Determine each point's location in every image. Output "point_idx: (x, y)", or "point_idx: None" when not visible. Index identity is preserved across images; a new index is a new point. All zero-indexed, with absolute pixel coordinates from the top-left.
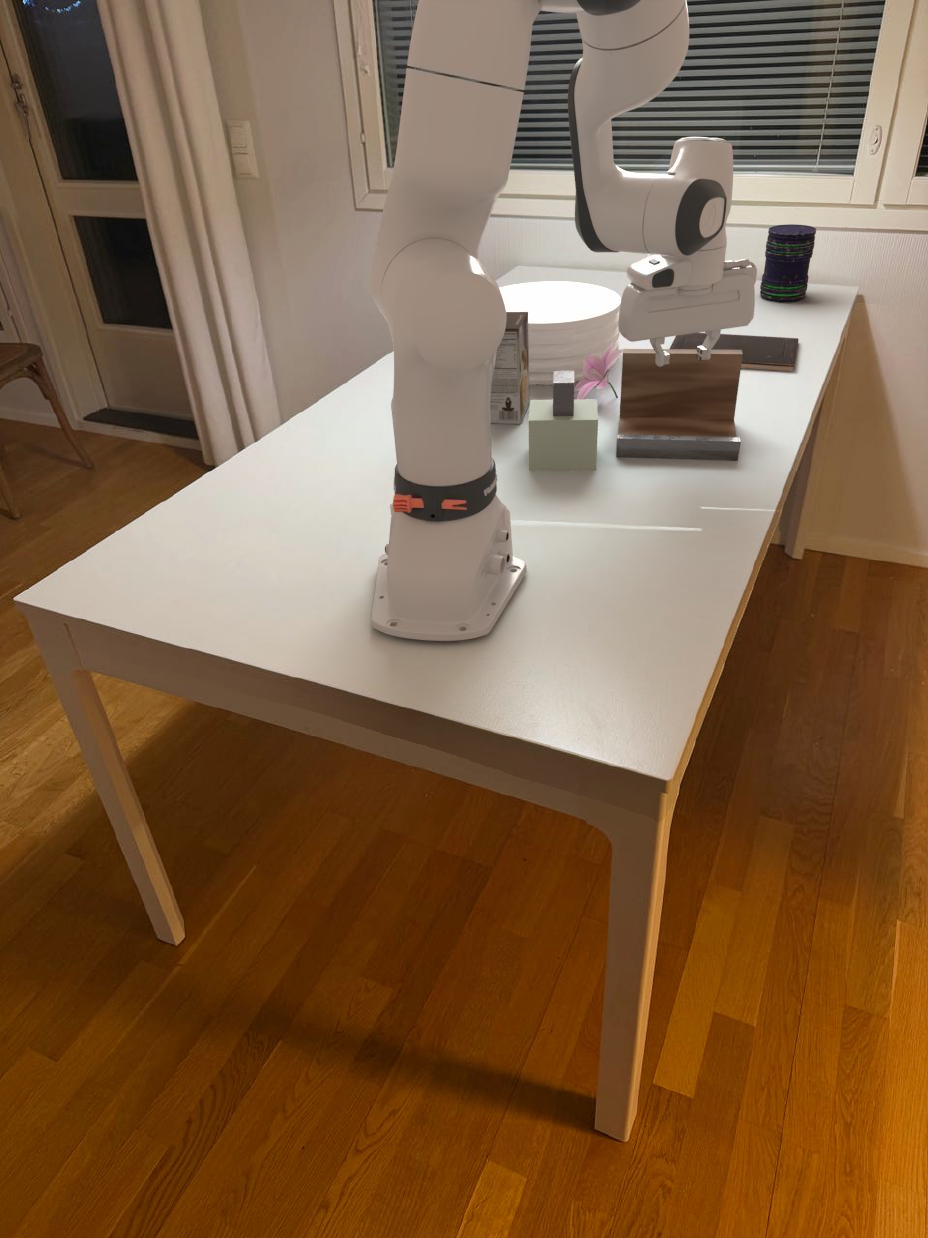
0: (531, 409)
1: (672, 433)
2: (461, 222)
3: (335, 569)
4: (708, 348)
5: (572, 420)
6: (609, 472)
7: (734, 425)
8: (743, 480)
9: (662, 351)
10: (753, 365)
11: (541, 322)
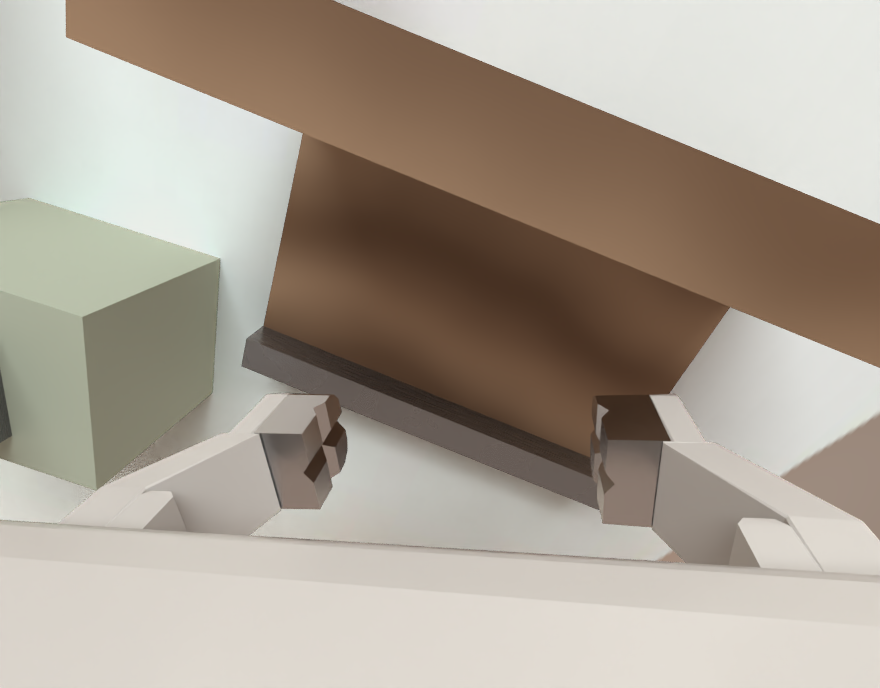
0: None
1: (460, 313)
2: None
3: None
4: (659, 532)
5: (15, 462)
6: (243, 414)
7: (715, 322)
8: (545, 552)
9: (242, 533)
10: None
11: None
